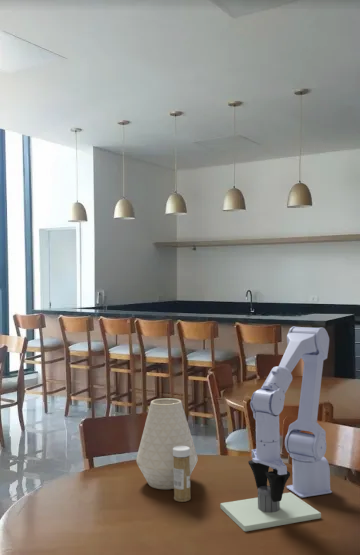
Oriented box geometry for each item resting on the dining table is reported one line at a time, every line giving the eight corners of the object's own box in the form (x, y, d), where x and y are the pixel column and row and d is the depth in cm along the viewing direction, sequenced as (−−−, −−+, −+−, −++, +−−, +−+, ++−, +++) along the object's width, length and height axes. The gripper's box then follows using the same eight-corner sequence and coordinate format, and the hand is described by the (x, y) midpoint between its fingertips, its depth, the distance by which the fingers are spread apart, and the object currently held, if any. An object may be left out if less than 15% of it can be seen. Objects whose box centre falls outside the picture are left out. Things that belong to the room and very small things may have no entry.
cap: (273, 502, 135) (272, 484, 135) (283, 510, 130) (283, 491, 130) (254, 505, 133) (254, 487, 133) (264, 513, 128) (264, 494, 129)
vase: (209, 478, 156) (207, 398, 157) (176, 498, 142) (175, 410, 142) (159, 468, 166) (158, 393, 166) (124, 486, 151) (122, 404, 152)
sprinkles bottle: (194, 499, 141) (193, 448, 141) (179, 504, 138) (178, 451, 139) (184, 494, 145) (183, 443, 145) (170, 498, 142) (169, 447, 142)
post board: (290, 496, 142) (290, 478, 142) (321, 518, 128) (320, 498, 128) (220, 508, 135) (220, 489, 135) (244, 531, 122) (244, 510, 122)
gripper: (240, 433, 138) (241, 487, 137) (267, 449, 124) (268, 508, 124) (265, 430, 140) (266, 483, 140) (294, 445, 126) (295, 504, 126)
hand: (269, 495), depth 132 cm, fingers open, 7 cm apart
